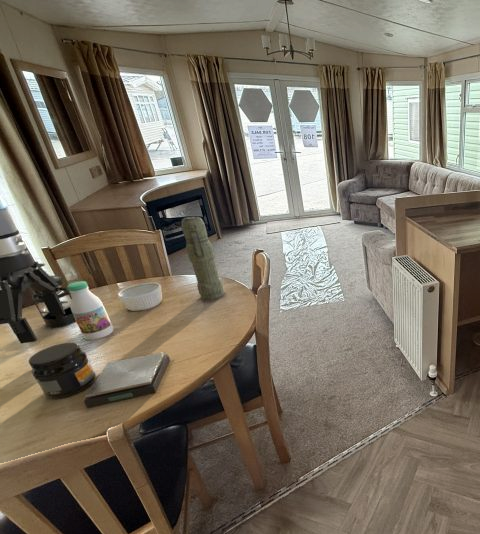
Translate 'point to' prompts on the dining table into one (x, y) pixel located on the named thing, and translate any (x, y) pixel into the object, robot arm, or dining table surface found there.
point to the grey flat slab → (126, 374)
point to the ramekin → (141, 296)
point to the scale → (130, 389)
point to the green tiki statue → (202, 258)
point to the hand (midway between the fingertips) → (44, 327)
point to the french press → (61, 319)
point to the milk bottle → (89, 312)
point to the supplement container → (62, 370)
